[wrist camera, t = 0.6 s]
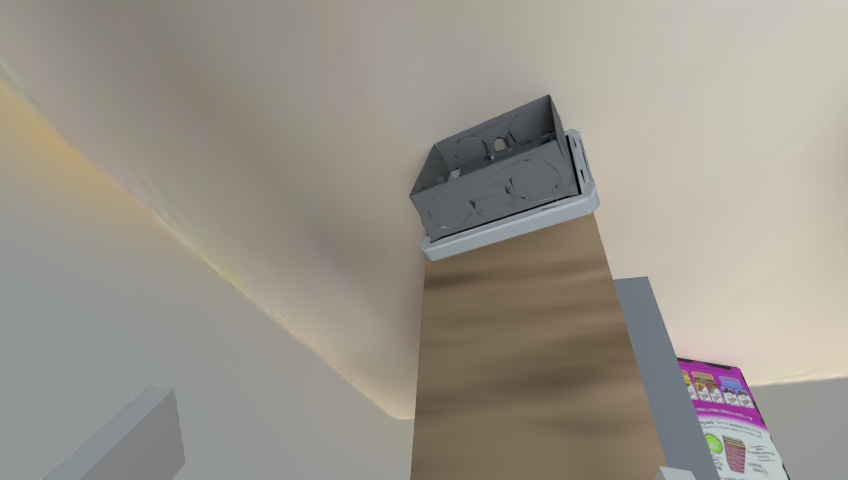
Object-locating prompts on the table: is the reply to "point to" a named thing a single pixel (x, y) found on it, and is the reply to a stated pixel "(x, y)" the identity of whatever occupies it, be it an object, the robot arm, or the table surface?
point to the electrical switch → (503, 181)
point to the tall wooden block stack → (530, 366)
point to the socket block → (664, 381)
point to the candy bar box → (731, 423)
